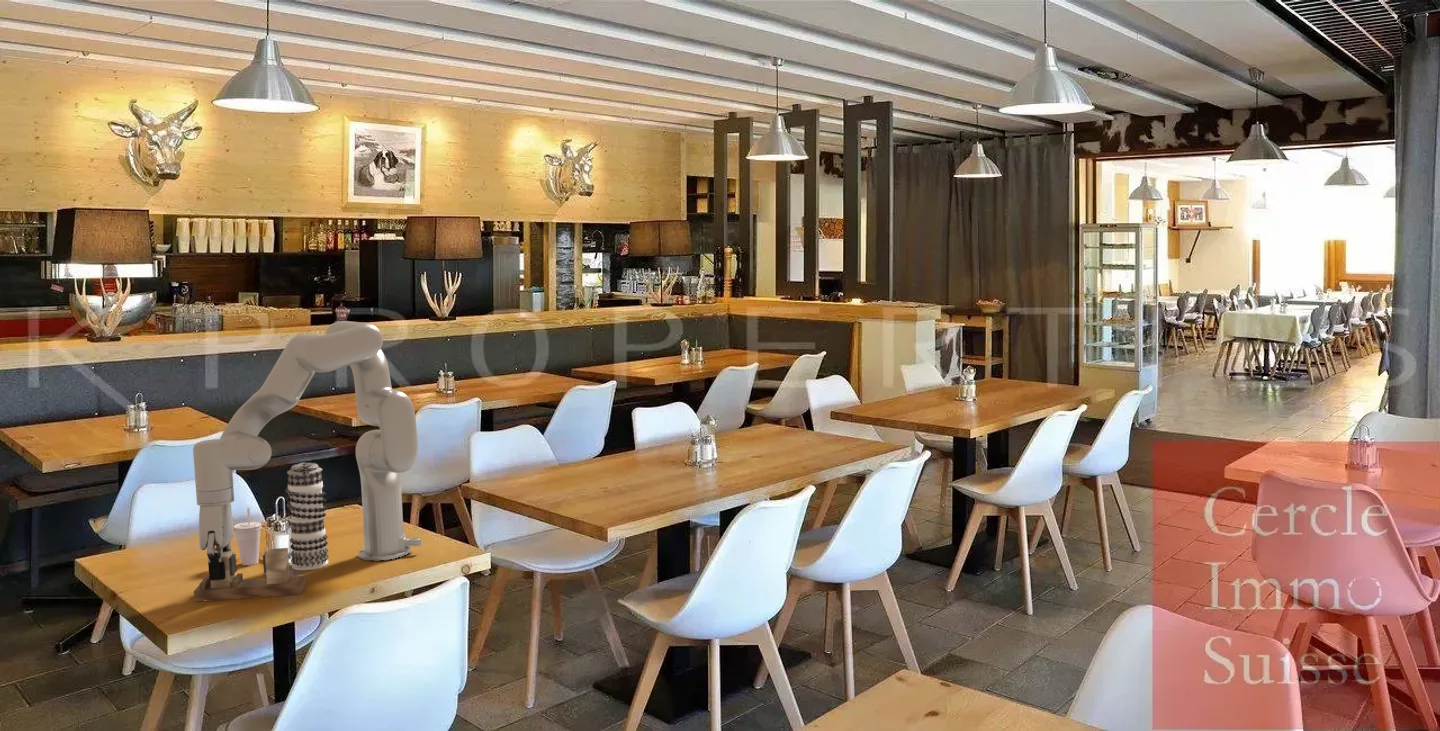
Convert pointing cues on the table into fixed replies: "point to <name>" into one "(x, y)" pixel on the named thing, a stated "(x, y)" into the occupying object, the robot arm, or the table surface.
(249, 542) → the smoothie
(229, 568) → the beige boxy piece
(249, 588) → the brown notched block
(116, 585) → the table surface
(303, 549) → the decorative candle
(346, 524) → the table surface
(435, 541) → the table surface
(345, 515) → the table surface
